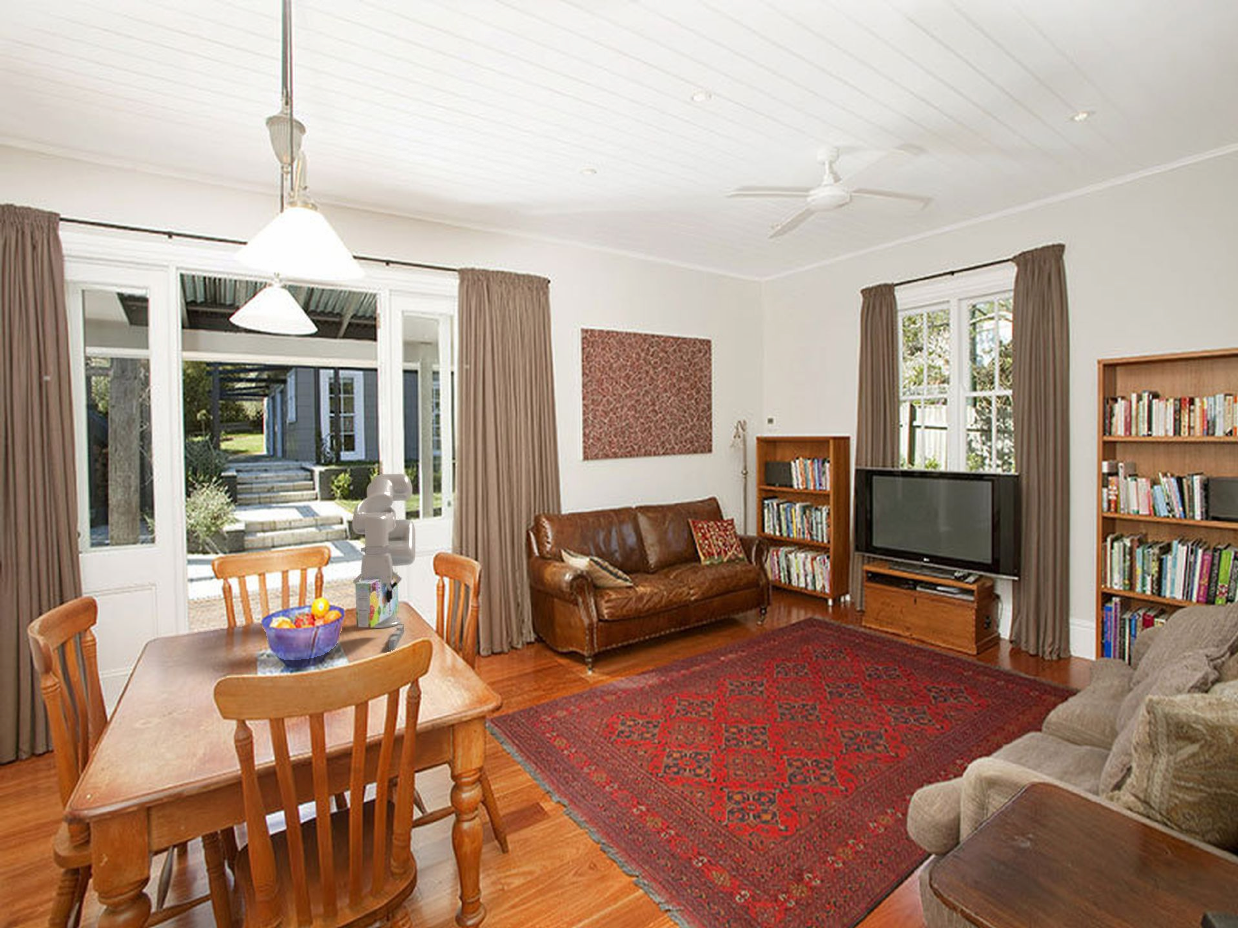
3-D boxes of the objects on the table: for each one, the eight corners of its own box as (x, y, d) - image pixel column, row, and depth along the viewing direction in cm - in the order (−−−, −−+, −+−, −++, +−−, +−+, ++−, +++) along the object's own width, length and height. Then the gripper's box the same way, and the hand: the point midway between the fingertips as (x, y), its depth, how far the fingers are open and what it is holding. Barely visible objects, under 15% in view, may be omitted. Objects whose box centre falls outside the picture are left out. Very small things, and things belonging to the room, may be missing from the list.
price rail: (399, 632, 232) (399, 623, 231) (404, 631, 232) (404, 623, 232) (388, 651, 210) (388, 641, 210) (394, 650, 210) (394, 641, 210)
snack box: (384, 611, 230) (384, 570, 230) (399, 612, 230) (398, 570, 229) (354, 628, 209) (354, 582, 209) (371, 628, 209) (371, 582, 208)
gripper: (347, 553, 214) (348, 606, 214) (401, 551, 217) (402, 603, 217) (352, 550, 221) (353, 600, 221) (404, 548, 224) (405, 598, 225)
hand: (378, 601), depth 219 cm, fingers closed on snack box, 6 cm apart
